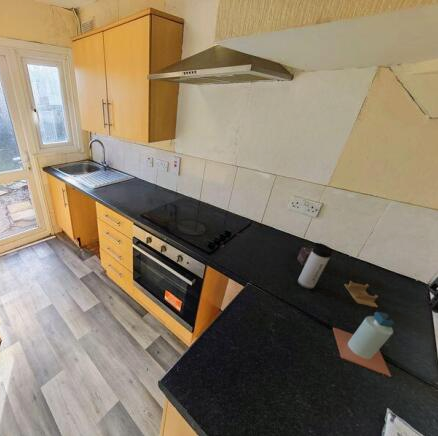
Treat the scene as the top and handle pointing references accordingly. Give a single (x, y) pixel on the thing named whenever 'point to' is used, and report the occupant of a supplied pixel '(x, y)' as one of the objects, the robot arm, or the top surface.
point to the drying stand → (361, 294)
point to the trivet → (346, 353)
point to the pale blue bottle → (371, 335)
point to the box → (304, 255)
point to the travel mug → (314, 265)
